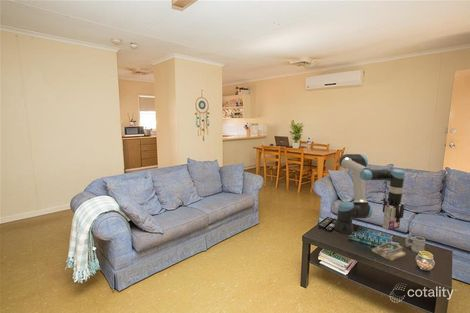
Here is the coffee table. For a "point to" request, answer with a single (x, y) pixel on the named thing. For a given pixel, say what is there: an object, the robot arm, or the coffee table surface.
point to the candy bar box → (390, 217)
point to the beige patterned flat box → (389, 251)
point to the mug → (416, 243)
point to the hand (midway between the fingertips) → (391, 224)
